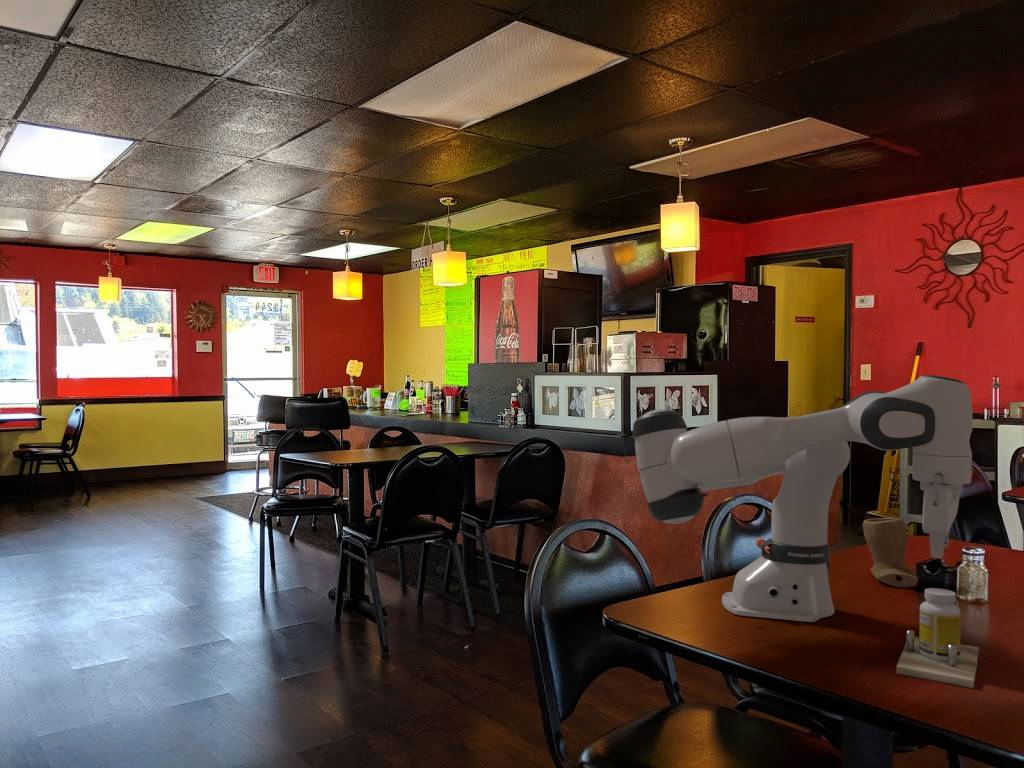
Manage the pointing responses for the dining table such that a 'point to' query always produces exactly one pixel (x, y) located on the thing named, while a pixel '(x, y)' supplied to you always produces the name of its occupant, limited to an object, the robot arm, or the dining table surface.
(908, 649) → the header pins
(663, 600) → the dining table surface
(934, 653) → the pill bottle
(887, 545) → the tan boot
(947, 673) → the light wood flat board
